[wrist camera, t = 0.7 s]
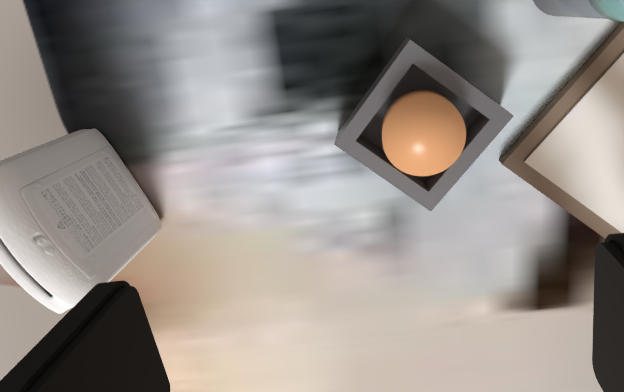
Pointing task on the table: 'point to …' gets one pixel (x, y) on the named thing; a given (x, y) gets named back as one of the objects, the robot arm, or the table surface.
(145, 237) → the photo printer
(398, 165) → the button
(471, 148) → the button housing
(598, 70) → the board
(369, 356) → the table surface
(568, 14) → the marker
